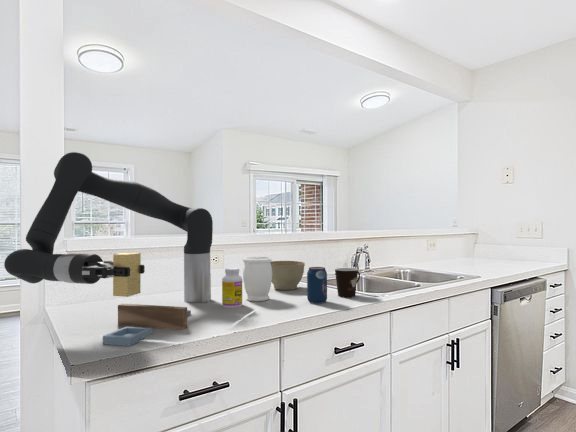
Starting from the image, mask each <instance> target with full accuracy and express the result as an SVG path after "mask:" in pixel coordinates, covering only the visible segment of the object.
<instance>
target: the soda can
mask: <svg viewBox="0 0 576 432" xmlns="http://www.w3.org/2000/svg"><path fill="white" fill-rule="evenodd" d="M306 285H307V286H306V289H307V290H306V293H307V294H306V295H307V301H308V302H309V303H310V304H313V305H315V304H316V305H318V304H319V305H322V304H326V302H327V300H328V273H327V270H326V267H323V266H311V267H308V271H307V272H306Z"/></svg>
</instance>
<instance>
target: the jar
mask: <svg viewBox="0 0 576 432" xmlns="http://www.w3.org/2000/svg"><path fill="white" fill-rule="evenodd" d="M271 261H273V259H272V257H267V256H251V257H244V258H242V262H243V263H244V265H243V269H242V270H243V271H242V281H243V284H244V290H245V294H246V295H247V296H246V297H245V298H246V299H245V300H247V301H249V302H263V301H264V302H265V301H268V300H269V299H270V296H269V294H270V292H271V288H272V282H271V281H272V267H271V264H270V262H271Z"/></svg>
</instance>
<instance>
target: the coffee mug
mask: <svg viewBox="0 0 576 432" xmlns="http://www.w3.org/2000/svg"><path fill="white" fill-rule="evenodd" d="M334 271H335V280H336V281H335V283H336V289H337V296H338V297H340V298H343V299H344V298H350V299H351V298H355V297H356V292H357V284H358V283H359V280H361V272H360V271H359V269H358V268H355V267H340V268H339V267H337V268H334Z"/></svg>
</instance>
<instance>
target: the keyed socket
mask: <svg viewBox="0 0 576 432" xmlns="http://www.w3.org/2000/svg"><path fill="white" fill-rule="evenodd" d="M152 330H153V329H152V327H138V326H125V327H121V328H120V329H117V330H114V331H112V332H109V333H107V334H105V335H103V336H102V344H103V345H112V346H113V345H114V346H124V347H125V346H126V347H127V346H128V347H131V346H133V345H135V344H137V343H140V342H141V341H143V340H145V339H146V337H147V336H149V335H151V334H152Z"/></svg>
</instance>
